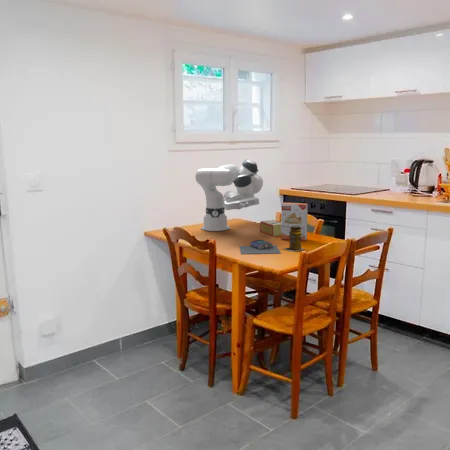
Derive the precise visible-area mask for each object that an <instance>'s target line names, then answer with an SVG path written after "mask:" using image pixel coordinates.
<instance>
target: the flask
mask: <svg viewBox="0 0 450 450" xmlns="http://www.w3.org/2000/svg"><path fill="white" fill-rule="evenodd" d="M249 244H250V245H249V246H253V247H256V248H258V249H262V248H272V247H273V245H274V244H273V243H272V242H268V241H266V240H264V239H256V240H252V241H251V242H250V243H249Z"/></svg>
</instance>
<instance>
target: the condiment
mask: <svg viewBox="0 0 450 450" xmlns="http://www.w3.org/2000/svg"><path fill="white" fill-rule="evenodd" d="M283 250H285V251H289V252H297V251H298V252H299V251H303V250H305V249H304V248H302V241H301V227H299V226H291V229H290V240H289V247H285V248H283Z"/></svg>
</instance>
